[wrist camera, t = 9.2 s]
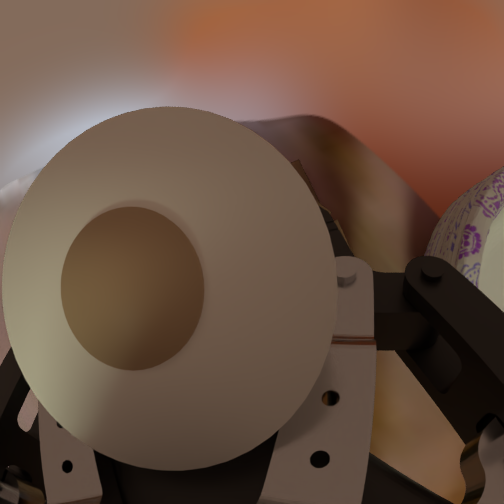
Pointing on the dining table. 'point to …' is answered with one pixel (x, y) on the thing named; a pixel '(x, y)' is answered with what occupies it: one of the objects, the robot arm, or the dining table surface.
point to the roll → (170, 288)
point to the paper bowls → (475, 236)
